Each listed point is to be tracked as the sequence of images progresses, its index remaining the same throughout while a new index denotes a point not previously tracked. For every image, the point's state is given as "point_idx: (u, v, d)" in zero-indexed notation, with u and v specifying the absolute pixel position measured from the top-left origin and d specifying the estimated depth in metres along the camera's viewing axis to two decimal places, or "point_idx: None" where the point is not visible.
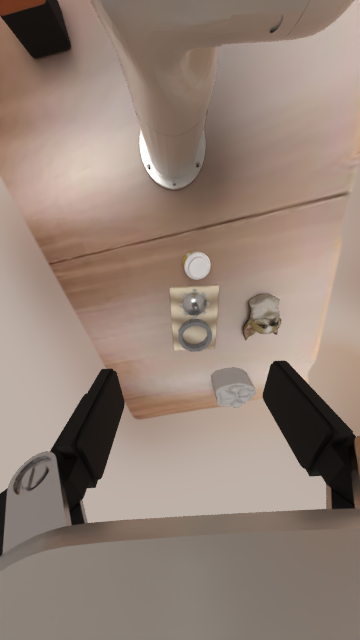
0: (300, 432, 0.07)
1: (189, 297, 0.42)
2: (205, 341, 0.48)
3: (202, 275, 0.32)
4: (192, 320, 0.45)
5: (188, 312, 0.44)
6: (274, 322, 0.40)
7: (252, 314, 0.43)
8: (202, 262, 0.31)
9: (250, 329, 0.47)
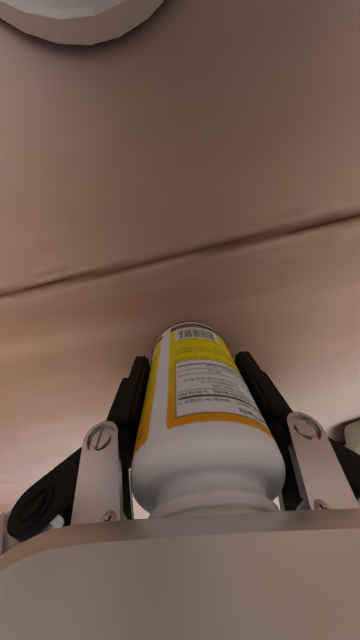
0: None
1: None
2: None
3: None
4: None
5: None
6: None
7: None
8: None
9: None
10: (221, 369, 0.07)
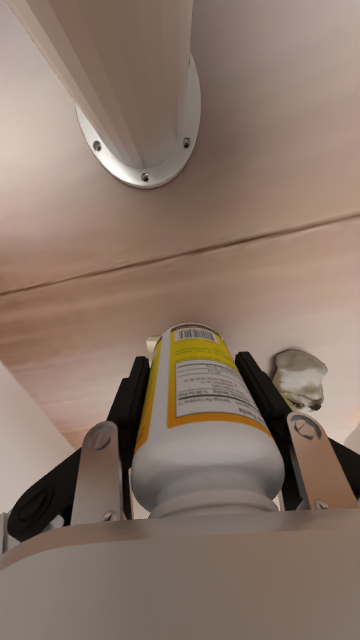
0: None
1: None
2: None
3: None
4: None
5: None
6: (319, 405, 0.25)
7: (280, 382, 0.28)
8: None
9: None
10: (221, 369, 0.07)
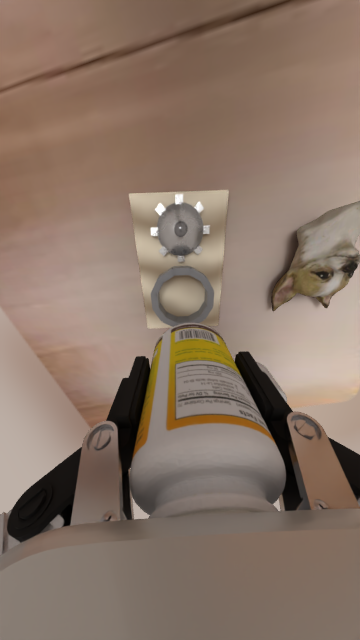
0: None
1: (169, 212, 0.21)
2: (201, 310, 0.26)
3: None
4: (176, 266, 0.24)
5: (168, 248, 0.23)
6: (355, 263, 0.19)
7: (302, 253, 0.22)
8: None
9: (286, 291, 0.26)
10: (221, 371, 0.07)
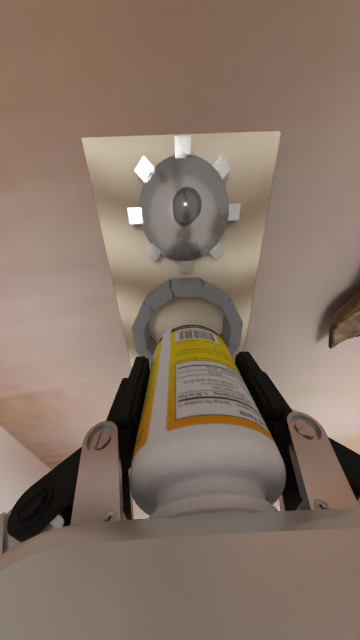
0: None
1: (162, 177, 0.11)
2: None
3: None
4: (177, 280, 0.13)
5: (162, 248, 0.12)
6: None
7: None
8: None
9: (359, 319, 0.16)
10: (222, 371, 0.07)
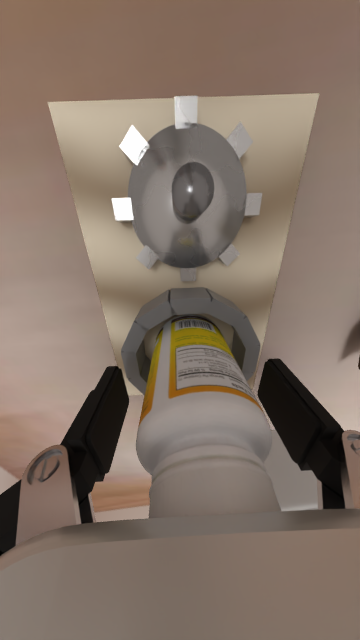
0: (291, 428, 0.07)
1: (158, 156, 0.08)
2: None
3: None
4: (178, 292, 0.11)
5: (159, 252, 0.10)
6: None
7: None
8: None
9: None
10: (217, 353, 0.08)
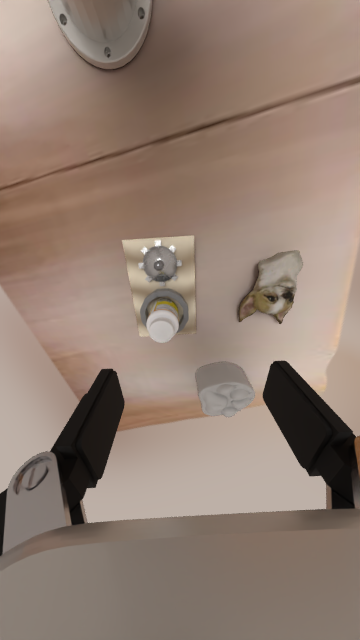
0: (300, 432, 0.07)
1: (151, 252, 0.29)
2: (180, 321, 0.34)
3: (166, 340, 0.25)
4: (159, 289, 0.31)
5: (152, 277, 0.31)
6: (291, 293, 0.27)
7: (259, 280, 0.30)
8: (165, 326, 0.24)
9: (249, 307, 0.34)
10: (168, 305, 0.29)
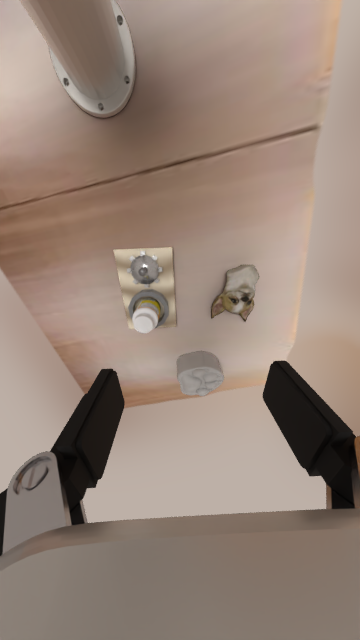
0: (300, 432, 0.07)
1: (137, 260, 0.36)
2: (162, 317, 0.41)
3: (147, 331, 0.33)
4: (144, 290, 0.38)
5: (138, 280, 0.37)
6: (247, 297, 0.34)
7: (226, 285, 0.37)
8: (146, 320, 0.32)
9: (220, 306, 0.41)
10: (150, 304, 0.36)
